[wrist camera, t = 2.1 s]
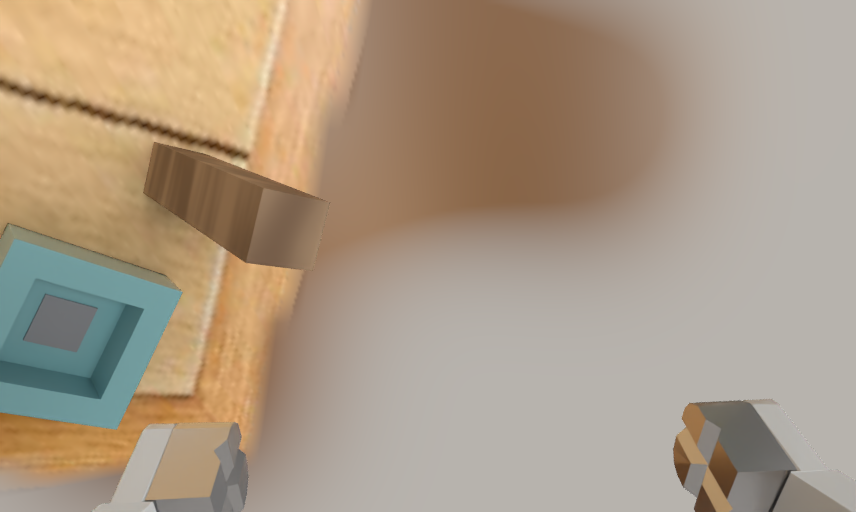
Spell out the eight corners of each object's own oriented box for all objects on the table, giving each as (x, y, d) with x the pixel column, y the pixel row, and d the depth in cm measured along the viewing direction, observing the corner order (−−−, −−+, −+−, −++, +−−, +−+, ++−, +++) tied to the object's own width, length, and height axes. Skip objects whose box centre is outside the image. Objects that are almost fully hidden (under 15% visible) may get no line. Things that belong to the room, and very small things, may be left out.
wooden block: (143, 192, 41) (245, 262, 28) (154, 142, 41) (263, 188, 27) (195, 202, 44) (313, 271, 30) (205, 154, 43) (330, 202, 30)
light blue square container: (-67, 373, 37) (-67, 402, 34) (8, 223, 37) (14, 238, 34) (103, 403, 43) (116, 429, 40) (165, 275, 44) (182, 292, 41)
